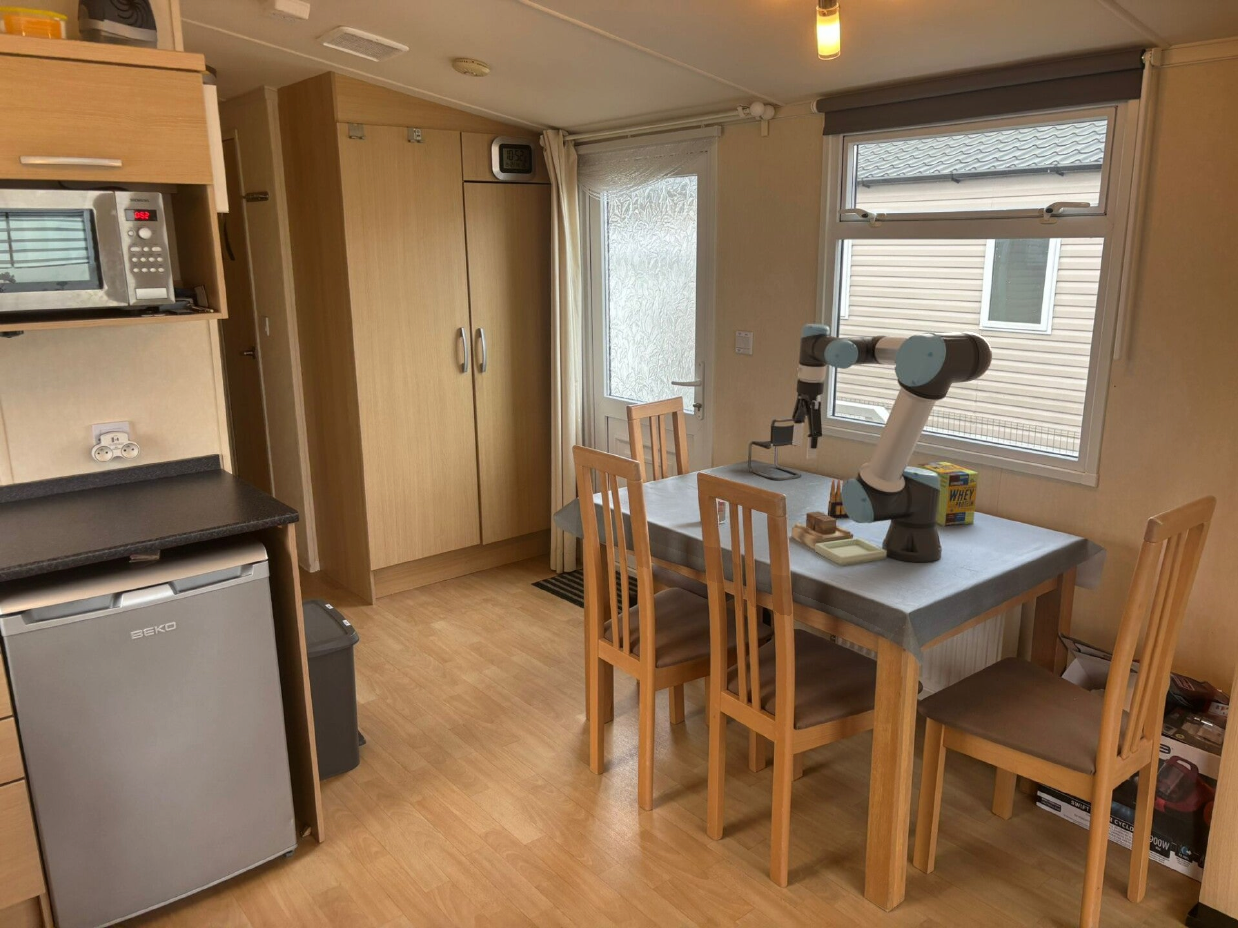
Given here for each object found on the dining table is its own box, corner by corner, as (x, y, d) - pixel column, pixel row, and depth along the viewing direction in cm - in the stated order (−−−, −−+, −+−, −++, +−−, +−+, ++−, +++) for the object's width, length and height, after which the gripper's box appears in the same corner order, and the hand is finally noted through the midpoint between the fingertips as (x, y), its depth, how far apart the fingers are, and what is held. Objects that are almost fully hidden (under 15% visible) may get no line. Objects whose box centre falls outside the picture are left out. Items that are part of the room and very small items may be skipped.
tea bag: (699, 521, 271) (700, 489, 268) (720, 519, 272) (721, 487, 270) (703, 525, 267) (704, 492, 265) (725, 523, 269) (725, 490, 266)
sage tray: (886, 558, 238) (886, 550, 238) (841, 565, 233) (841, 557, 233) (857, 545, 249) (858, 537, 249) (814, 551, 244) (815, 543, 243)
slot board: (852, 544, 250) (853, 531, 249) (815, 549, 245) (816, 536, 244) (827, 532, 260) (827, 519, 259) (791, 537, 256) (791, 524, 255)
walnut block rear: (826, 528, 254) (826, 514, 253) (814, 530, 252) (814, 516, 251) (817, 524, 257) (818, 511, 256) (805, 526, 256) (806, 512, 255)
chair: (775, 481, 317) (778, 419, 312) (746, 471, 332) (749, 411, 327) (805, 477, 322) (808, 416, 317) (776, 467, 337) (778, 408, 332)
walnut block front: (835, 533, 250) (836, 519, 249) (823, 534, 248) (824, 520, 247) (827, 529, 253) (827, 515, 252) (815, 530, 252) (815, 517, 251)
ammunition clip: (859, 514, 278) (861, 476, 275) (862, 516, 276) (864, 478, 273) (827, 517, 275) (829, 478, 272) (829, 518, 273) (832, 480, 271)
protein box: (944, 526, 266) (949, 475, 262) (912, 512, 280) (916, 463, 276) (974, 523, 269) (979, 472, 265) (941, 509, 283) (945, 461, 280)
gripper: (785, 370, 267) (779, 439, 274) (811, 389, 244) (804, 464, 250) (810, 370, 268) (803, 439, 274) (838, 389, 244) (830, 464, 251)
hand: (804, 451), depth 262 cm, fingers open, 13 cm apart
